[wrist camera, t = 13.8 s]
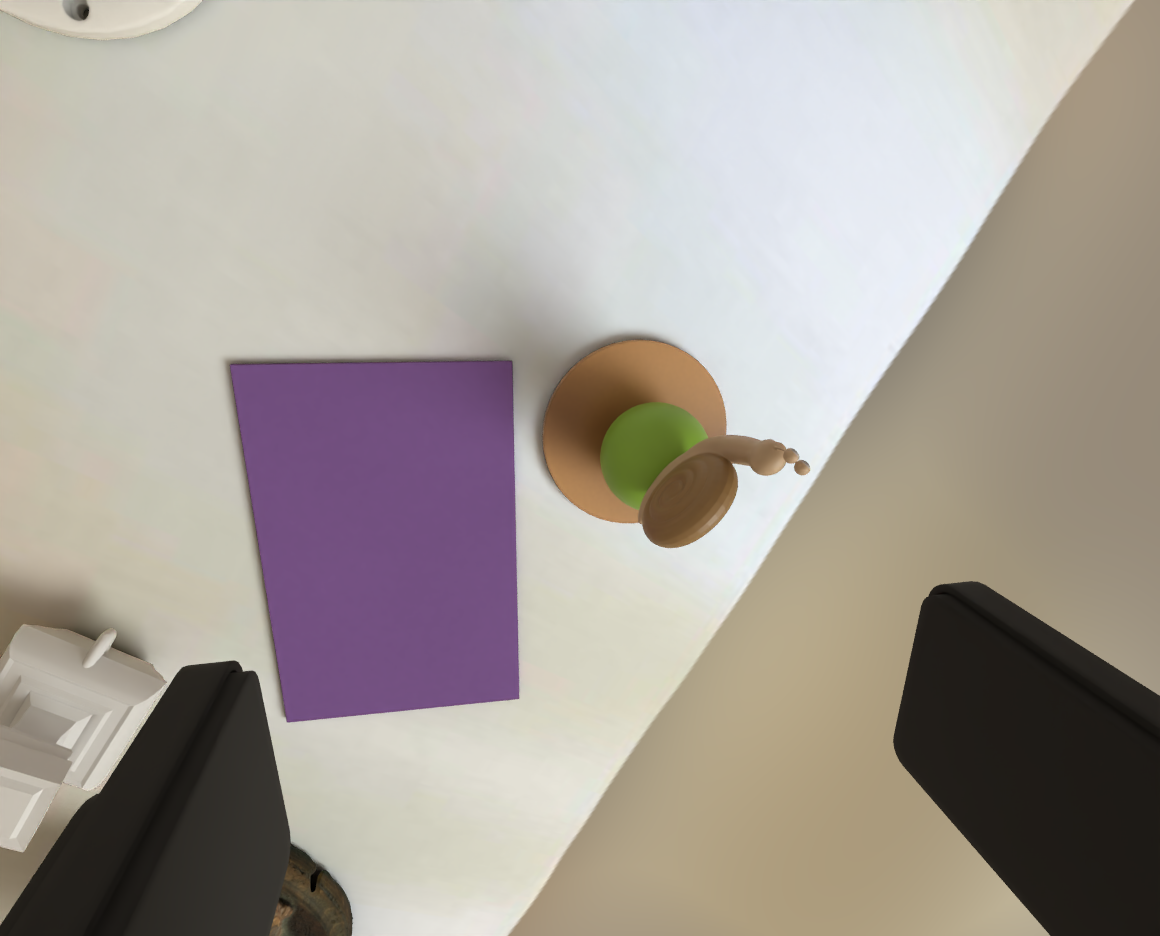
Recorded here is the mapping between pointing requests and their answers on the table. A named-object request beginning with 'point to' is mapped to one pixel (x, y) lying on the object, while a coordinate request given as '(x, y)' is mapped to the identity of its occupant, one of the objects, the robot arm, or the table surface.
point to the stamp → (63, 719)
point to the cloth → (385, 531)
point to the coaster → (618, 413)
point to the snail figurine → (681, 470)
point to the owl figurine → (310, 902)
